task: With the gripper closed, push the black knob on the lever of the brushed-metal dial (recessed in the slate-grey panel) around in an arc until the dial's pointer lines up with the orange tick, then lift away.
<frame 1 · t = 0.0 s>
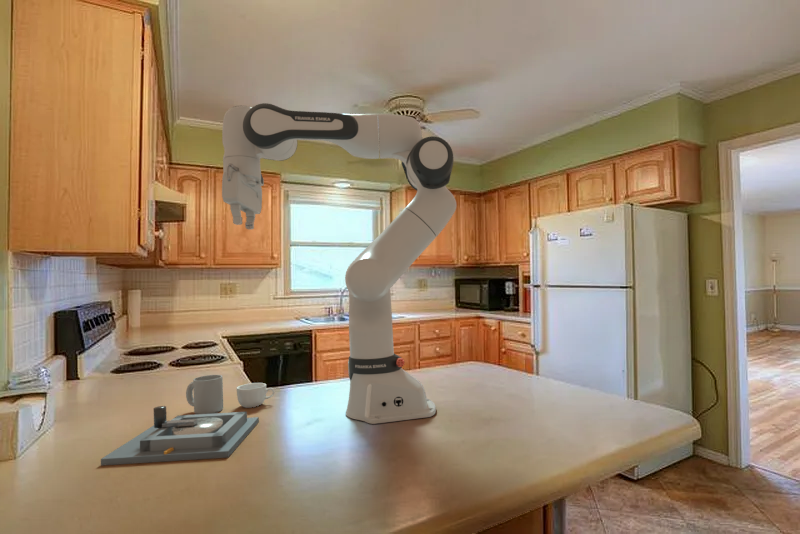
hand: (244, 226, 109), 48 cm above the countertop, fingers open, 8 cm apart
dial: (188, 420, 94), point 5 cm above the countertop, hinge at 0.0°
cup: (204, 411, 116), on the countertop
teacup: (256, 406, 120), on the countertop
panel: (189, 441, 94), on the countertop
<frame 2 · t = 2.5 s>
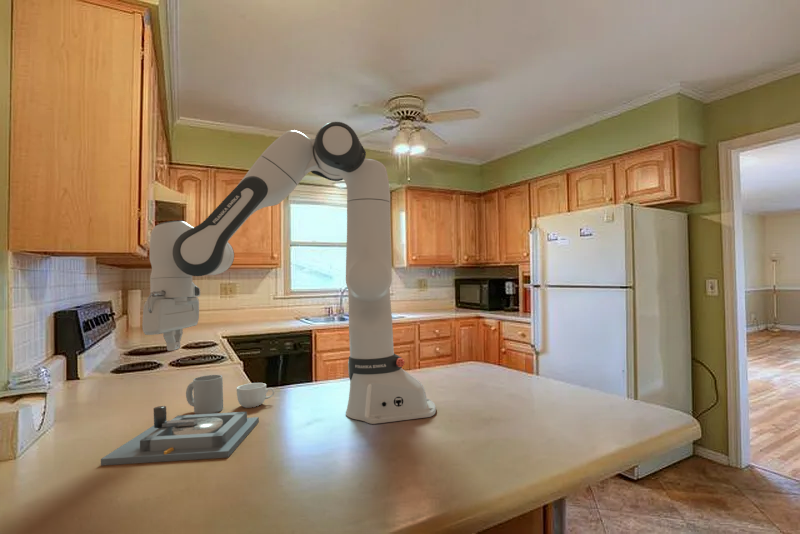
hand: (173, 349, 101), 19 cm above the countertop, fingers closed
nothing on the countertop moved.
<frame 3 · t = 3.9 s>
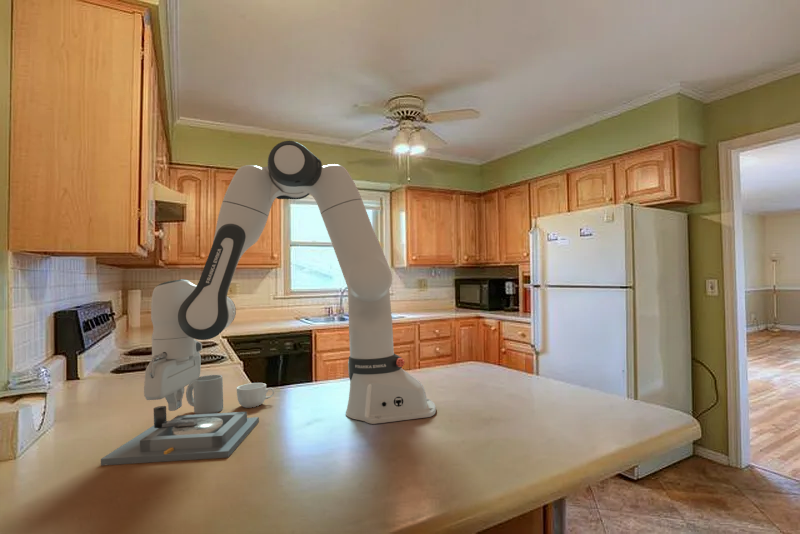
hand: (175, 409, 101), 5 cm above the countertop, fingers closed
nothing on the countertop moved.
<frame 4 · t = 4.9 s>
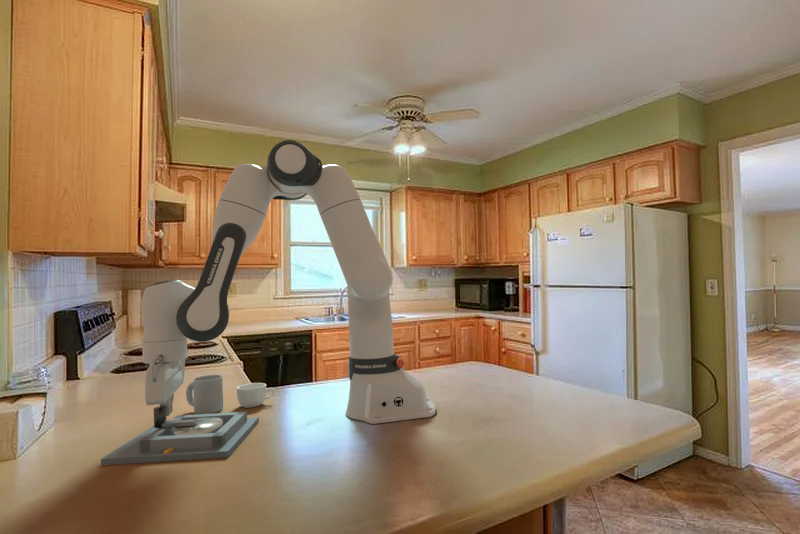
hand: (166, 414, 97), 5 cm above the countertop, fingers closed
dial: (188, 420, 94), point 4 cm above the countertop, hinge at 0.1°, touching gripper
everything else where it was.
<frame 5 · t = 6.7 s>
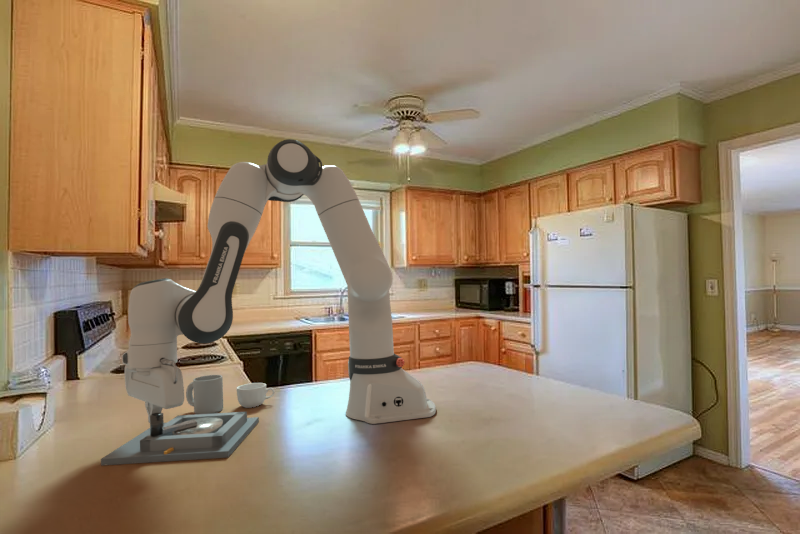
hand: (154, 423, 90), 5 cm above the countertop, fingers closed
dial: (187, 422, 92), point 5 cm above the countertop, hinge at 41.0°, touching gripper
everything else where it was.
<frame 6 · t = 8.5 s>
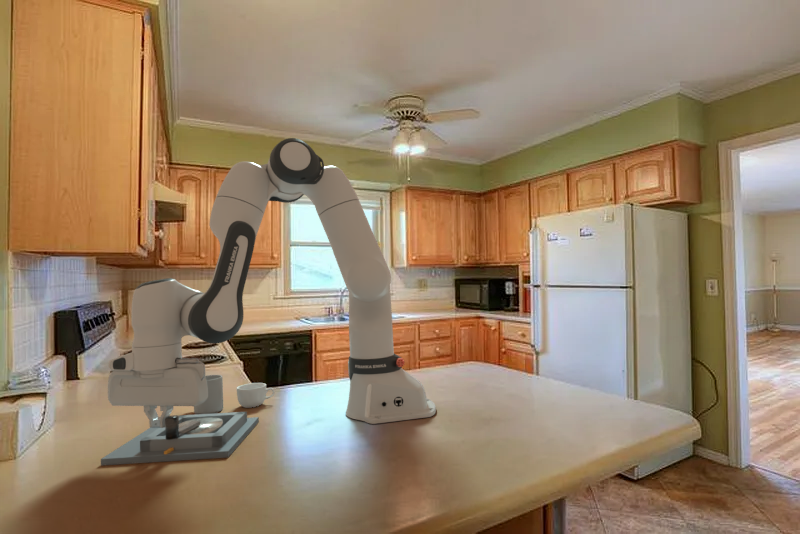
hand: (159, 427, 88), 5 cm above the countertop, fingers closed
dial: (191, 422, 92), point 5 cm above the countertop, hinge at 77.1°
everything else where it was.
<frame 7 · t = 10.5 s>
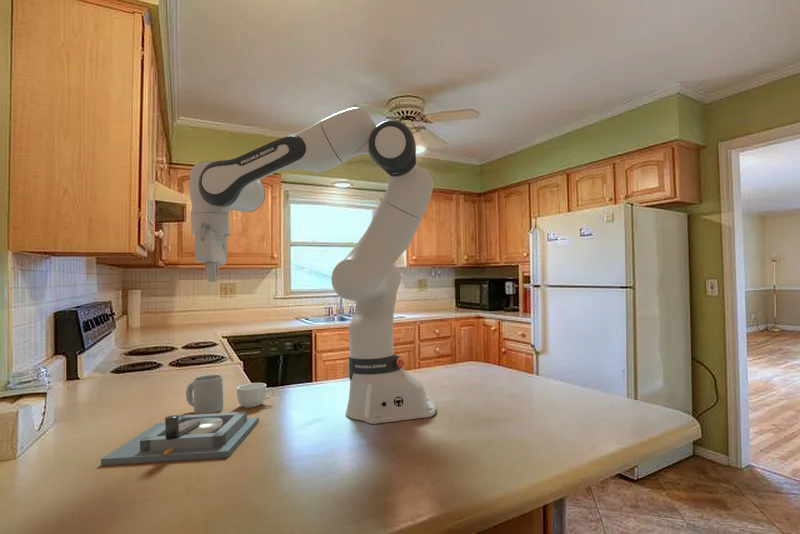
hand: (213, 281, 108), 35 cm above the countertop, fingers closed
nothing on the countertop moved.
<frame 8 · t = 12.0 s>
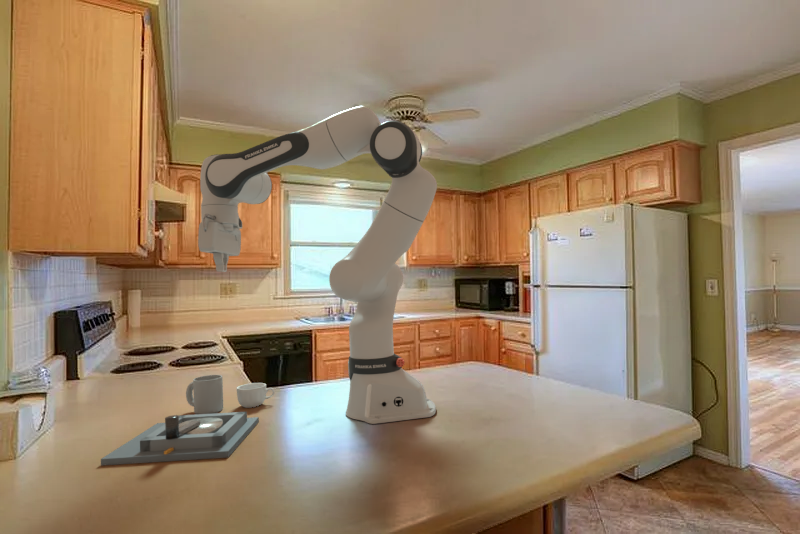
hand: (221, 271, 112), 37 cm above the countertop, fingers closed
nothing on the countertop moved.
at the end: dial at +77° (first picture: +0°); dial touching nothing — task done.
